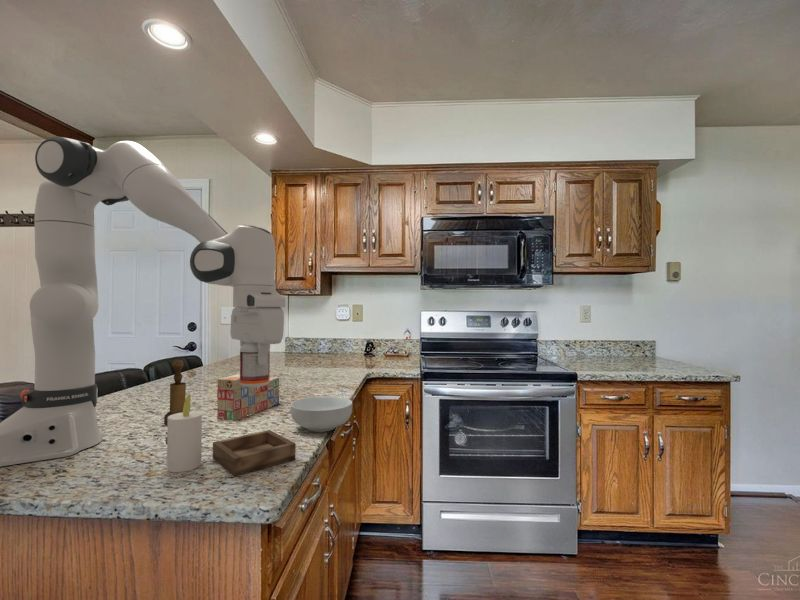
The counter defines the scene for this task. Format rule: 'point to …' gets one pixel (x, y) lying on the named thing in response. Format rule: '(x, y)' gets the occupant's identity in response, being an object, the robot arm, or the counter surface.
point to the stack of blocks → (244, 397)
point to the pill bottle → (252, 365)
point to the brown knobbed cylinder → (176, 391)
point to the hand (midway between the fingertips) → (254, 362)
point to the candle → (184, 439)
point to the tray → (253, 452)
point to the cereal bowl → (321, 412)
